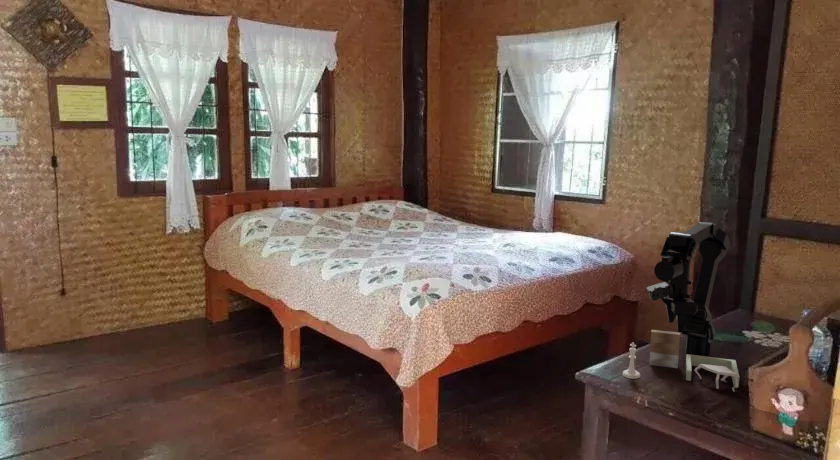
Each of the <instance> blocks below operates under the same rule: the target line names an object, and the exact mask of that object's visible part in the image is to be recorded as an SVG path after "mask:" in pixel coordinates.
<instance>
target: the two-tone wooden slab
mask: <svg viewBox="0 0 840 460" xmlns="http://www.w3.org/2000/svg"><path fill="white" fill-rule="evenodd" d="M680 338H681V332H678V331H667V330H658V329H651V331H650V344H649V346H650V348H649V364H648V365H649V366H658V367H665V368H673V369H678V368H679V367H678V366H679V356H680V355H679V353H680Z"/></svg>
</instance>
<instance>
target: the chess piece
mask: <svg viewBox="0 0 840 460" xmlns="http://www.w3.org/2000/svg"><path fill="white" fill-rule="evenodd" d="M629 346H630V348H629V349H628V350H629V354H630V355H628V358H629V359H630V361H629V365H628V368H627V369H625V370H623V371H622V376H623V377H624V378H626V379H627V378H628V379H634V380H635V379H640V378H641V373H640V372H639V371H637V370H636V368H635V359H637V357H636V353H637V349H636V347H637V344H635V342H631V343H630V344H629Z"/></svg>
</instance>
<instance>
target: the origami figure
mask: <svg viewBox="0 0 840 460" xmlns="http://www.w3.org/2000/svg"><path fill="white" fill-rule="evenodd" d="M700 369H703V370H705V371H709V372H711V373H714V374H716V377H715V388H716V389H718V390H719V388H720V387H719V386H720V385H719V380H720V381H721V382H723V383H727V381H726V378H728V377H732V376H734V378H735V381H736V387H734V386H733V387H731V389H732V392H735V389H737V388H739V387H738V379H737V376H738V375H737V374H736V373H734V372H732V371H731V370H729V369H728V368H727V366H716V365H706V364H700V365H699V366H696V367H695V368H694V369H693V371H694V372H695V373H696V374H697V376H698V377H699V380H702V379H703V378H702V376H701V375H700V373H699V372H698V370H700ZM720 375H721V376H723V377H722V378H720Z"/></svg>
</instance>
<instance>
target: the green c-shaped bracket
mask: <svg viewBox="0 0 840 460" xmlns="http://www.w3.org/2000/svg"><path fill="white" fill-rule="evenodd" d="M700 364H706V365H716V366H727V368H728V369H729V370H731V371H732V372H734V373H736V374H737V375H738V376H737V379H738V387H737V388H739V387H740V373H739V369H738V365H737V361H736V359H729V358H727V359H726V358H722V357H711V356H708V357H706V356H698V355H690V354H686V355H685V380H686V381H689V382H691V380H692V373H693V372H692V367H693V366H694V367H698V366H699V365H700ZM731 380H732V384H733V387H736V381H735V378H734V376H731Z"/></svg>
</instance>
